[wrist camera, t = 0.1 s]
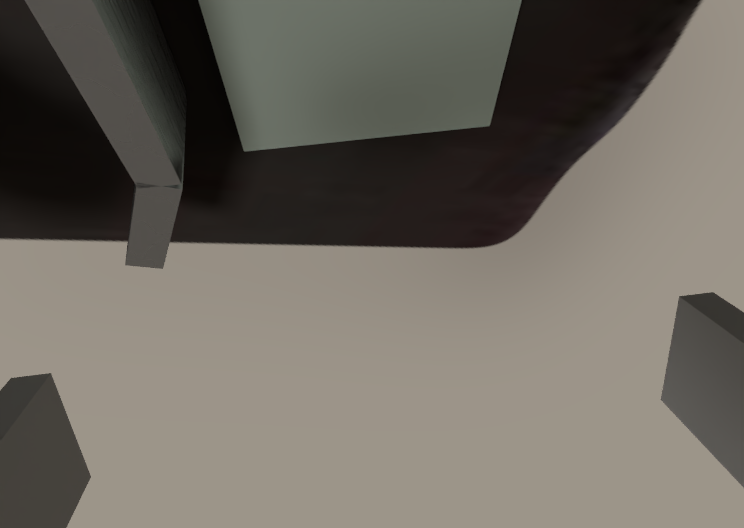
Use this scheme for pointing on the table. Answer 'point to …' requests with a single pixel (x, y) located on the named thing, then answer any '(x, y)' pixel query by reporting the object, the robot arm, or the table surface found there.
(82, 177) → the table surface
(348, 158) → the table surface
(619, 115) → the table surface
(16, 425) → the robot arm
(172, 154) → the bent rail
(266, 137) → the mat
